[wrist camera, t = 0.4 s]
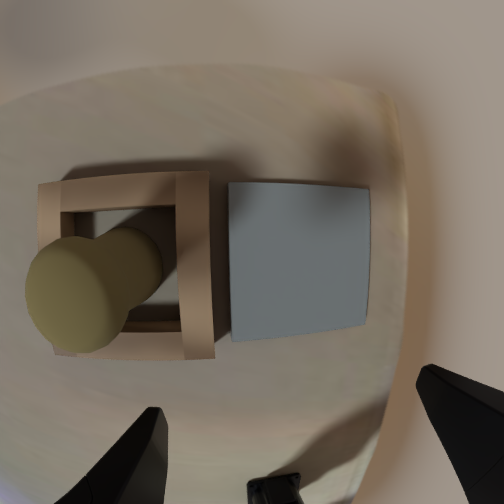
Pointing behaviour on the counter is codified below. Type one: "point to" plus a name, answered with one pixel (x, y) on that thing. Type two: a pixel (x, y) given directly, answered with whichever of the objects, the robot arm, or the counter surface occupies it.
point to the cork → (91, 286)
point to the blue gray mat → (296, 258)
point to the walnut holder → (187, 248)
